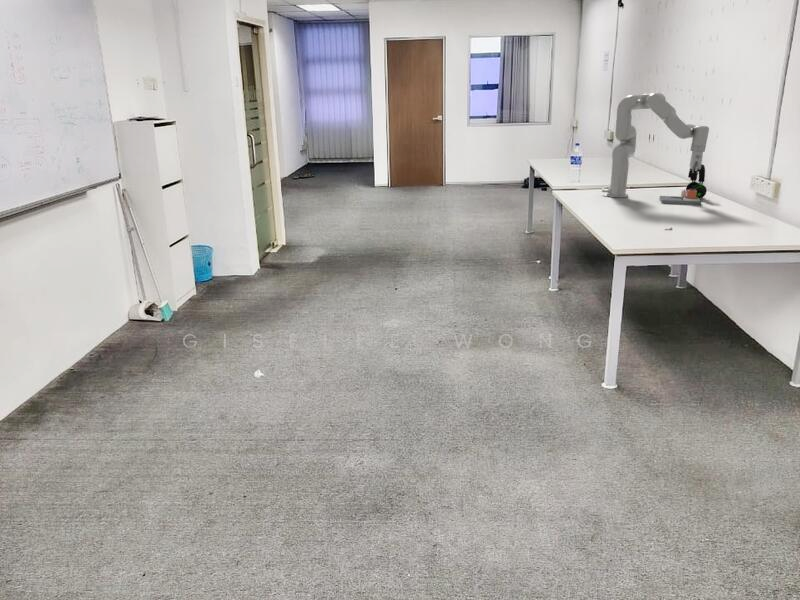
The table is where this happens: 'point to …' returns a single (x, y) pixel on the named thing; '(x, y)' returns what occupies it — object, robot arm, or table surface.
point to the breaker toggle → (683, 193)
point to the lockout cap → (691, 194)
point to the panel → (679, 200)
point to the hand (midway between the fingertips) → (692, 178)
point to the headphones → (699, 186)
